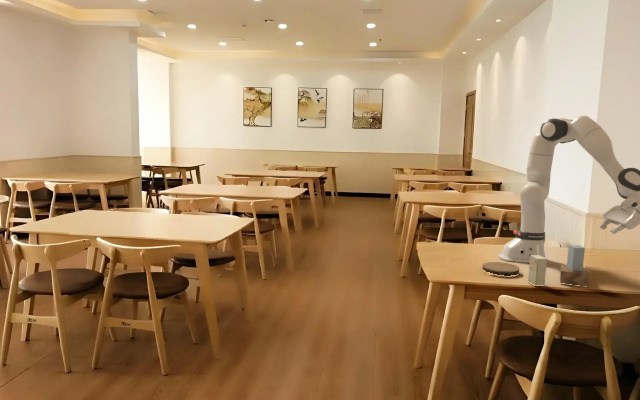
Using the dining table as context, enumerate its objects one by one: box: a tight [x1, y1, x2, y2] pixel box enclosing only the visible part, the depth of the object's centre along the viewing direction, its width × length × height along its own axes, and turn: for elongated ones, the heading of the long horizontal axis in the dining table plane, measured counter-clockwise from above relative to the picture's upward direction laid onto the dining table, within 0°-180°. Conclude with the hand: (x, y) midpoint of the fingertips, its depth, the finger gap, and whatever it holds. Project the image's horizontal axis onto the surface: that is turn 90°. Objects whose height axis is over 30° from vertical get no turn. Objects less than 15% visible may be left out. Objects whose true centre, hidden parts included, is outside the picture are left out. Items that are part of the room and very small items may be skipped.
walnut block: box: [559, 264, 589, 287], centre depth 214 cm, size 10×10×6 cm
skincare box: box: [527, 255, 548, 286], centre depth 209 cm, size 6×4×12 cm
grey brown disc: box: [481, 261, 520, 276], centre depth 229 cm, size 16×16×3 cm
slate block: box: [566, 244, 586, 271], centre depth 212 cm, size 4×4×10 cm
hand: (606, 230), depth 210 cm, fingers open, 8 cm apart
